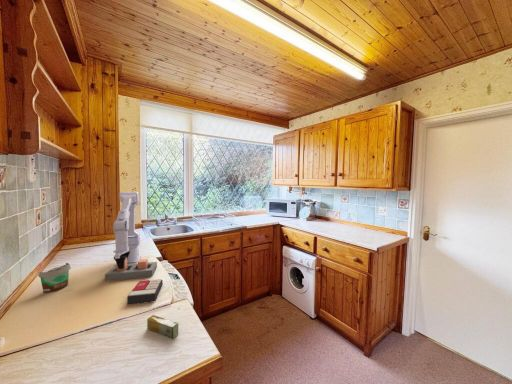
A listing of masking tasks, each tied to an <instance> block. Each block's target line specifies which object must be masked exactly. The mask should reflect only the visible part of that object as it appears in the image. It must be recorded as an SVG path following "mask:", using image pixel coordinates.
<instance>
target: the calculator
mask: <svg viewBox="0 0 512 384" xmlns="http://www.w3.org/2000/svg"><path fill="white" fill-rule="evenodd" d="M163 283H164V282H163V279H159V278H158V279H151V280H150V279H149V280H148V279H147V280H139V281H138V282H137V283H136V285H135V286H134V287H133V288H132V290H131V291H130V292H129V294H128V295H127V297H126V301H127V302H126V304H127V306H128V305H129V304H130V305H137V304H138V303H139V304H145V303H144V302H148V303H152V302H151V301H155V302H156V301H157V299H158V297H157V296H159V294H160V292H161V289H162V288H163V286H162V285H163ZM161 287H162V288H161Z"/></svg>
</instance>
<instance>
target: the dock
mask: <svg viewBox="0 0 512 384" xmlns="http://www.w3.org/2000/svg"><path fill="white" fill-rule="evenodd" d="M148 261H149V260H148V258H145V259H144V258H143V259H139V260H138V261H137V262H135V263H127V265H128V268H127V269H126V270H124V271H117V268H116V264H114V265H113V266H112V267H111V268H110V269H109V270H108V271H107V272H106V273H105V274H104V275H105V278H104V279H105V282H111V281H119V280H121V281H122V280H130V279H132V280H133V279H141V278H142V277H143V278H152V277H153V276H154V274H155V272H156V271H157V269H156V268H158V261H150V262H148ZM151 276H152V277H151Z"/></svg>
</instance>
